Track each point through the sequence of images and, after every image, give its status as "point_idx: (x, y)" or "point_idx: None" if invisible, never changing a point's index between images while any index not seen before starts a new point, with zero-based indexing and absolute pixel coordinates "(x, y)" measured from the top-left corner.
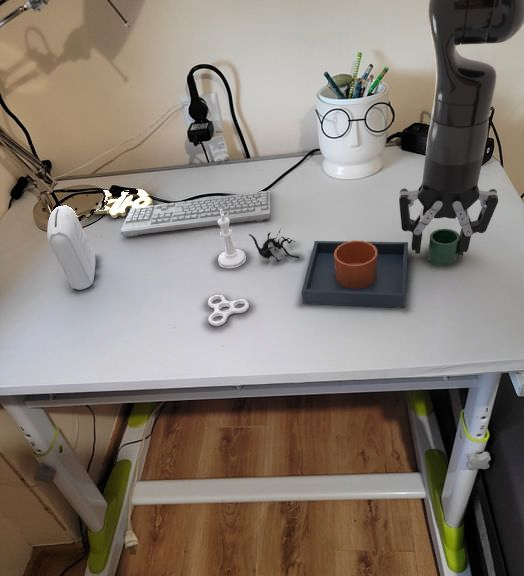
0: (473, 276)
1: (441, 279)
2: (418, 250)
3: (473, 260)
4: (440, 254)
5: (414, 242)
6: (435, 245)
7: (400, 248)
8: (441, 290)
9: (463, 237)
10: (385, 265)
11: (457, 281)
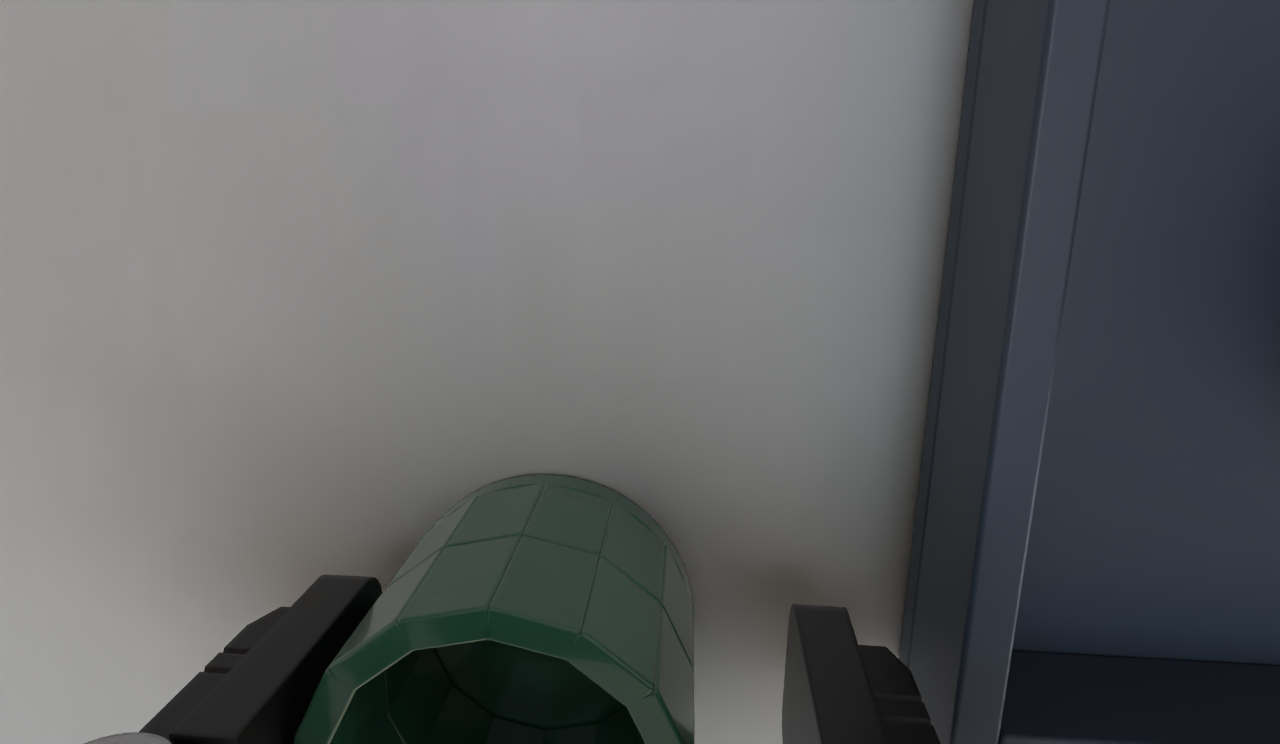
0: (243, 305)
1: (559, 249)
2: (820, 625)
3: (254, 558)
4: (559, 540)
5: (898, 721)
6: (619, 633)
7: (1020, 695)
8: (562, 50)
9: (214, 725)
10: (1180, 452)
11: (397, 218)
